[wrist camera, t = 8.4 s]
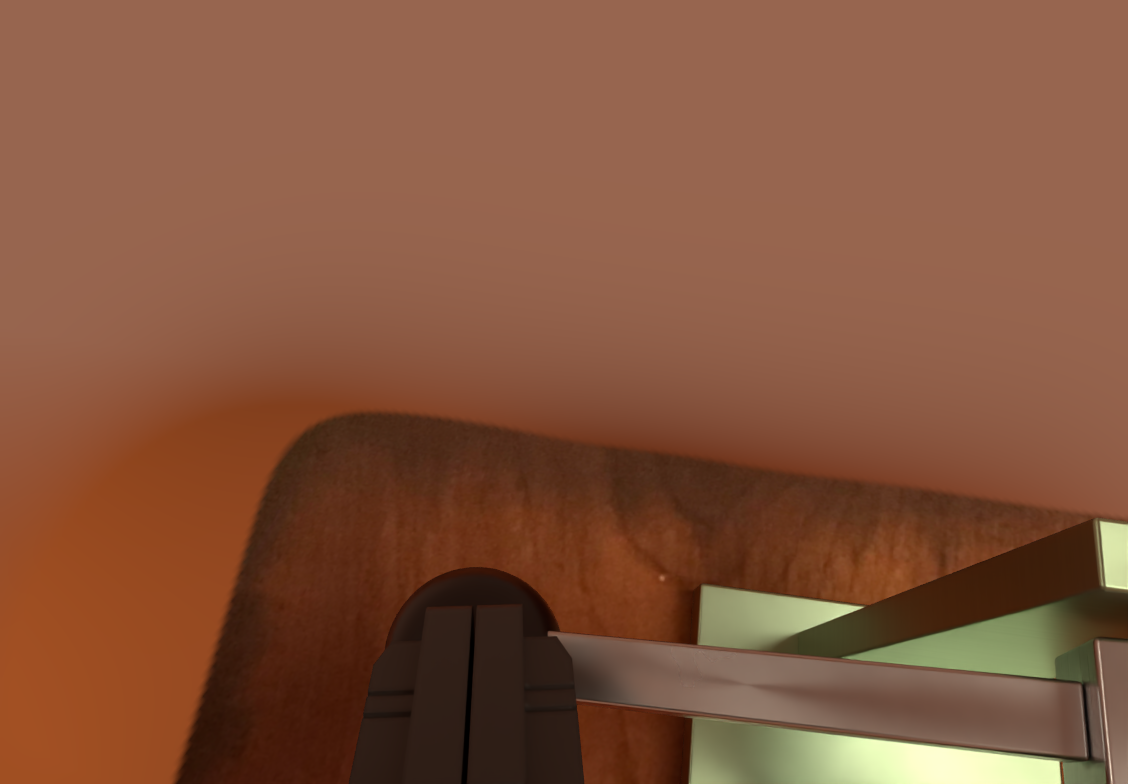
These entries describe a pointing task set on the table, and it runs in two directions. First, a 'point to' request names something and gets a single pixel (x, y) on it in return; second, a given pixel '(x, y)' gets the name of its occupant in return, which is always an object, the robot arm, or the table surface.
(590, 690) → the switch lever
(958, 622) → the switch bracket
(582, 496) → the table surface
